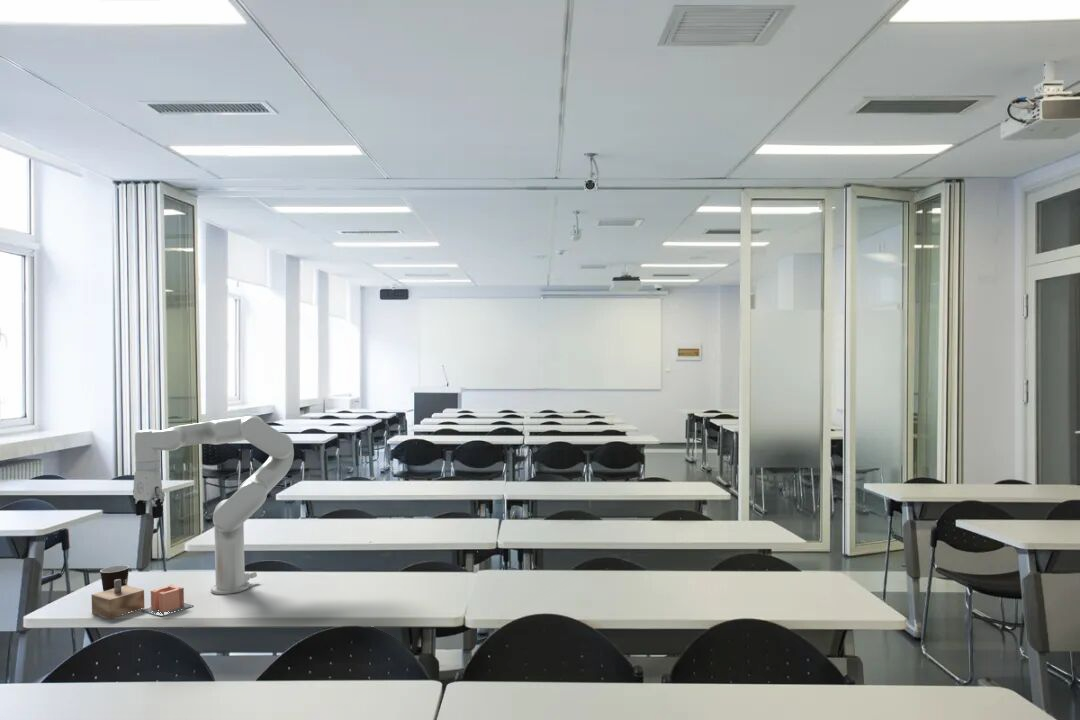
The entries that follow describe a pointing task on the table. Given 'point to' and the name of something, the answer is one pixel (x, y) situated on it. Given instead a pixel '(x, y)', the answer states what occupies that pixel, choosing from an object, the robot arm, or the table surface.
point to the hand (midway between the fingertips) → (149, 516)
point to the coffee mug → (114, 576)
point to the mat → (167, 611)
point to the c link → (167, 598)
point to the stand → (117, 600)
